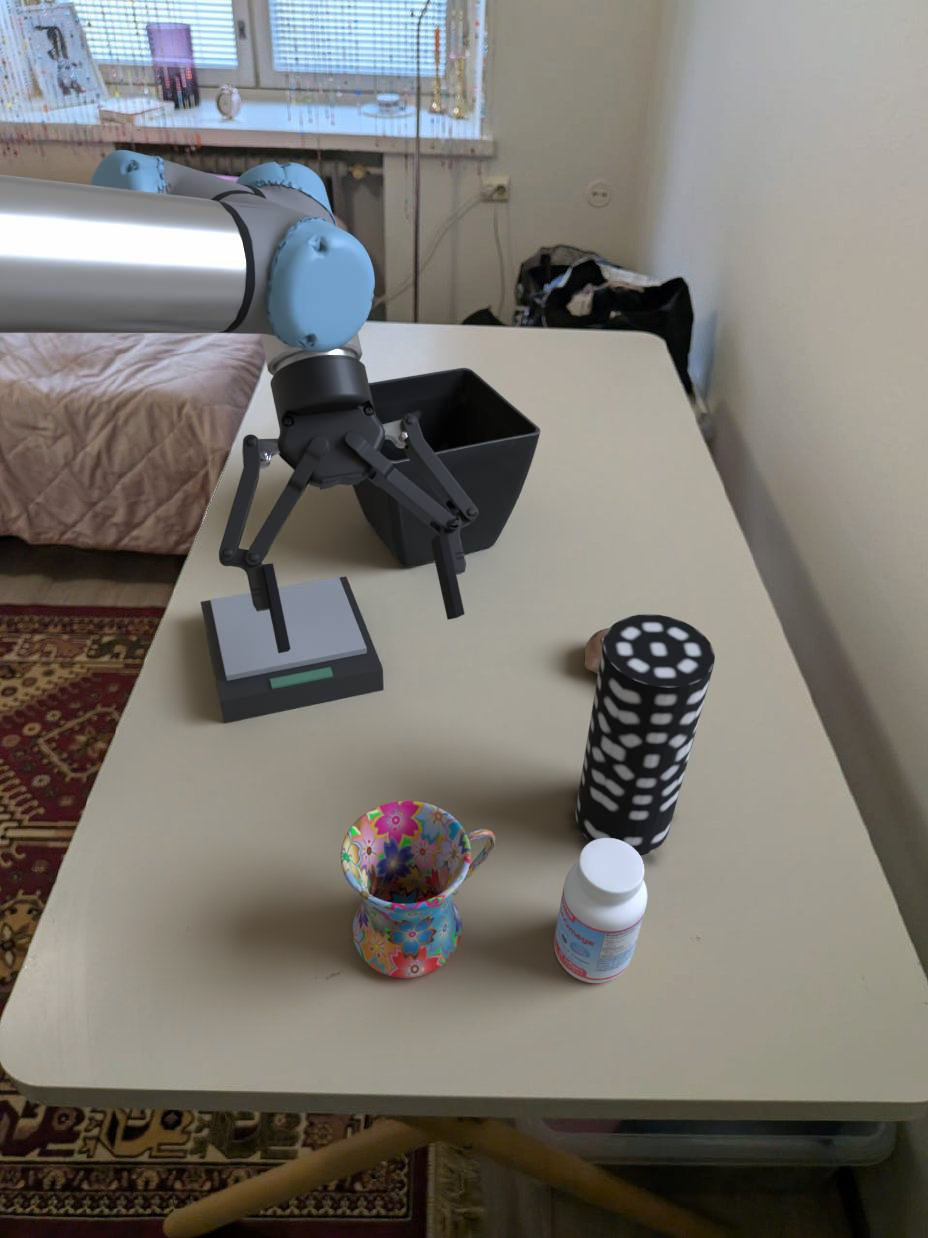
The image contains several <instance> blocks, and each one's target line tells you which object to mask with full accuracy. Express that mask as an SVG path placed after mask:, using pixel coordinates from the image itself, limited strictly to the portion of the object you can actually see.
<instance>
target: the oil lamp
mask: <svg viewBox="0 0 928 1238" xmlns="http://www.w3.org/2000/svg"><path fill="white" fill-rule="evenodd" d="M609 628H610V627H607V628H603V629H600V630H598V631H596V632H595V633H593V634H592V636H591V637H590V638H589V639H588V640H587V642H586V644H585V646H584V657H585V658H584V659H585V660H584V661H585V663H584V667H585V668H586V669H587V670H588V671H591V672H593V673H595V674H597V675H598V671H599V665H600V659H601V652H602V646H603V641H604V637H605V634H606V633H607V631H608V629H609Z"/></svg>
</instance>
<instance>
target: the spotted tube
mask: <svg viewBox="0 0 928 1238" xmlns="http://www.w3.org/2000/svg"><path fill="white" fill-rule="evenodd" d="M608 628H609V629H608V631H607V633H606V634H605V637H604V641H603V646H602V652H601V659H600V665H599V671H598V674H597V677H596V682H595V683H596V684H595V688H594V689H595V690H594V696H593V701H592V706H591V707H592V708H591V715H590V718H589V719H590V720H589V725H588V732H587V738H586V744H585V750H584V755H583V757H584V758H583V763H582V769H581V775H580V781H579V788H578V791H577V799H576V805H575V820H576V824H577V826H578V828H579V830H580V833H581V834H582V835H583V836H584V837H585V839H586V840H587V841H588V842H589V843H590V842H591V841H594V840H596V839H600V838H614V839H618V840H621V841H623V842H625V843H627V844H629V845H630V846H632V847H633V848H634V849H635V850H636V851H637V852H638V854H639V855H640V856H643V855H648V854H649V853H652V852H654V851H656V850H657V849H658V848H660V846H662V845H663V843H664V842H665V841H666V840H667V837H668V835H669V832H670V830H671V829H670V828H671V825H672V821H673V818H674V813H675V810H676V806H677V803H678V799H679V795H680V792H681V789H682V784H683V781H684V778H685V773H686V769H687V766H688V762H689V758H690V755H691V752H692V748H693V744H694V740H695V737H696V734H697V729H698V726H699V721H700V718H701V714H702V711H703V706H704V703H705V700H706V695H707V692H708V688H709V685H710V680H711V677H712V673H713V670H714V666H715V660H716V655H715V649H714V648H713V646H712V643H711V641H709V639H708V638H707V637H706V635H704V634H703V633H702V632H701V631H700V630H699V629H697V628H695V627H694V626H693V625H691V624H689V623H687V622H685V621H683V620H680V619H677V618H674V617H672V616H669V615H668V616H667V615H663V614H652V613H651V614H650V613H646V614H645V613H643V614H636V615H635V614H634V615H631V616H627V617H624V618H621V619H620V620H618V621H616V622H615V623H614V624H612V625H611V626H610V627H608Z"/></svg>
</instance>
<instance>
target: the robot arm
mask: <svg viewBox="0 0 928 1238" xmlns="http://www.w3.org/2000/svg"><path fill="white" fill-rule="evenodd" d="M326 190H327V189H326V187H325V184H324V182H323V181H322V179H321V177H320V176H319V175H318V174H317V173H316V172H315V171H314V170H312V169H311V168H309V167H307V166H306V165H303V164H300V163H296V162H293V161H289V162H286V163H283V164H279V163H277V162H276V161H271V162H265V163H262V164H258V165H256V166H253V167H251V168H249V169H247V170H246V171H245V172H243V173H242V174H241V175H240V176H239V177H238V178H237V179H236V181H235V182H234V181H233V180H232V181H231V180H229V179H225V178H223V177H220V176H216V175H213V174H211V173H207V172H205V171H201V170H198V169H195V168H192V167H189V166H186V165H183V164H180V163H177V162H173V161H170V160H167V159H164V158H162V157H161V156H159V155H157V154H154V155H147V154H144V153H140V152H135V151H131V150H127V149H117V150H115V151H112V152H109V153H108V154H107V155H106V156H104V157H103V158H102V160H100V161H99V164H98V165H97V166H96V168H95V170H94V173H93V174H92V177H91V181H90V183H89V184H84V183H75V182H67V181H61V180H60V181H59V180H49V179H44V178H43V179H41V178H34V177H25V176H16V175H8V174H0V334H238V335H239V334H242V335H260V338H261V343H262V347H263V353H264V359H265V363H266V368H267V371H268V373H269V374H270V375H272V378H271V380H270V382H269V383H270V388H271V394H272V398H273V403H274V408H275V413H276V418H277V423H278V427H279V428H278V429H279V435H278V438H258V437H257V435H255V434H251V433H249V434H246V435H245V436H244V438H243V439H242V448H241V449H242V450H241V453H242V465H243V467H242V471H241V475H240V479H239V482H238V485H237V488H236V492H235V495H234V499H233V502H232V505H231V508H230V512H229V516H228V518H227V522H226V525H225V529H224V532H223V536H222V539H221V543H220V546H219V549H218V561H219V563H220V564H221V565H222V566H224V567H235V568H239V569H242V570H243V572H245V574H246V576H247V582H248V586H249V591H250V592H249V593H251V597H252V602H253V606H254V607H255V609H256V610H257V612H258V611H264V610H270V615H271V620H272V625H273V630H274V635H275V640H276V645H277V649H278V653H283V652H288V651H289V650H290V644H289V639H288V634H287V629H286V624H285V619H284V614H283V610H282V605H281V600H280V595H279V590H278V588H279V586H278V581H277V576H276V572H275V566H274V562H270V563H265V564H263V562H264V560H265V558H266V557H267V555H268V553H269V552H270V550H271V548H272V546H273V545H274V542H275V541H276V539H278V536H279V534H280V533H281V531H282V530H283V527H284V526H285V524H286V522H287V521H288V519H289V517H290V516H291V513H292V512H293V511H294V509H295V507H296V506H297V503H298V502H299V500H300V499H301V497H302V496H303V495H304V493H305V490H306V489H307V487H308V486H309V485H310V486H311V487H314V488H317V489H319V490H320V491H322V490H327V489H331V488H334V487H336V486H338V485H340V486H352V485H355V484H359V482H360V481H362V480H364V479H365V478H367V479H369V480H370V481H371V482H372V483H373V484H375V485H376V486H378V487H381V488H382V489H384V490H385V491H386V492H387V493H389V494H390V495H391V496H392V497H393V498H395V499H396V500H397V501H398V502H400V503H401V504H402V505H403V506H404V507H406V508H407V509H408V510H409V511H411V512H412V513H413V514H414V515H415V516H417V517H418V518H419V519H420V520H422V521H423V522H424V523H425V524H426V525H428V526H429V527H430V528H431V529H433V530H434V531H435V532H436V533H437V534H439V535H437V536H436V537H435V538H434V539H433V540H432V541H431V545H432V550H433V555H434V559H435V561H434V563H435V568H436V573H437V578H438V582H439V587H440V591H441V595H442V597H441V598H442V601H443V605H444V611H445V614H446V620H448V621H449V620H454V619H457V618H460V617H462V616H464V615H465V614H466V613H465V608H464V603H463V600H462V596H461V591H460V585H459V582H458V577H457V575H462V574H463V573H465V572H466V567H467V563H466V558H465V554H464V553H463V548H462V543H461V539H460V530H461V528H463V527H465V526H467V525H469V524H470V523H471V522H472V521H473V520H475V519H476V518H477V517H478V514H479V512H478V509H477V507H476V506H475V505H474V503H473V502H472V501H471V499H470V498H469V497H468V496H467V494H466V493H465V492H464V490H463V489H462V488H461V486H460V485H459V484H458V483H457V481H456V480H455V479H454V477H453V476H452V475H451V473H450V472H449V471H448V469H447V468H446V467H445V466H444V464H443V463H442V462H441V460H440V459H439V458H438V456H437V455H436V454H435V452H434V451H433V450H432V449H431V447H430V446H429V445H428V443H427V442H426V441H425V439H424V437H423V434H422V431H421V429H420V426H419V423H418V420H417V417H416V416H415V415H414V414H411V413H407V414H405V415H404V417H403V418H402V419H401V420H398V421H394V422H390V423H386V424H382V423H381V422H380V421H379V420H378V418H377V416H376V414H375V411H374V406H373V401H372V396H371V392H370V387H369V383H370V382H369V378H368V374H367V368H366V366H365V364H364V363H363V362H362V361H361V359H362V356H363V350H362V346H361V342H360V337H359V332H360V331H361V329H362V328H363V326H364V325H365V323H366V321H367V320H368V317H369V314H370V312H371V310H372V304H373V299H374V297H375V294H374V291H375V288H376V287H375V285H376V280H375V272H374V271H375V270H374V267H373V264H372V260H371V258H370V257H371V256H370V255H369V253H368V252H367V249H366V248H365V247H364V245H363V244H362V243H361V241H359V240H358V239H357V238H356V237H355V236H354V235H352V234H351V233H349V232H347V231H345V230H344V229H342V228H340V227H338V224H337V220H336V217H335V216H334V214H333V211H332V207H331V204H330V200H329V197H328V194H327V191H326ZM385 439H389V440H391V441H392V442H393V443H394V445H395V446H396V447H397V448H401V449H402V448H403V449H404V451H405V453H406V455H407V457H408V458H409V460H410V461H411V462H412V464H413V465H414V466H415V468H416V469H417V470H418V471H419V473H420V474H421V475H422V477H423V478H424V479H425V481H426V482H427V483H428V484H429V486H430V487H431V488H432V490H433V491H434V492H435V494H436V495H437V496H438V497H439V499H440V500H441V501H442V503H443V504H444V505H445V507H446V508H447V509H448V510H449V512H450V513H451V514H450V513H449V512H448V511H447V510H446V509H444V508H443V507H442V506H441V505H439V504H438V503H437V502H436V501H435V500H433V499H432V498H431V497H430V496H429V495H427V494H426V493H425V492H424V491H422V490H421V489H420V488H419V487H418V486H416V485H415V484H414V483H413V482H412V481H410V480H409V479H408V478H407V477H405V476H404V475H403V474H402V473H401V472H399V471H398V470H397V469H396V468H395V467H394V465H393V464H392V462H390V461H389V460H388V459H387V458H386V457H384V456H383V455H382V454H381V453H380V452H379V451H380V449H381V447H382V444H383V442H384V440H385ZM277 455H278V456H279V457H280V459H282V460H283V461H284V462H285V463H286V464H287V465H288V466H289V467H290V468H291V469H292V470H293V472H292V473H291V476H290V477H289V478H288V481H287V483H286V485H285V487H284V488H283V490H282V492H281V493H280V495H279V497H278V498H277V500H276V502H275V504H274V505H273V507H272V509H271V511H270V512H269V514H268V515H267V517H266V519H265V520H264V523H263V524H262V526H261V527H260V529H259V531H258V533H257V534H256V536H255V538H254V540H253V541H252V543H251V544H250V546H249V547H248V549H246V548H241V547H240V545H241V542H242V539H243V535H244V531H245V528H246V524H247V521H248V518H249V515H250V514H249V513H250V511H251V508H252V504H253V501H254V497H255V493H256V490H257V487H258V483H259V479H260V473H261V469H266V468H268V467H269V466H270V464H271V460H272V458H273V457H274V456H277Z"/></svg>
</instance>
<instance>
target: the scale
mask: <svg viewBox="0 0 928 1238" xmlns="http://www.w3.org/2000/svg"><path fill="white" fill-rule="evenodd" d="M347 577H348V576H346V575H345V576H340V577H339V576H338V577H332V578H331V577H330V578H326V579H321V580H314V581H309V582H303V583H297V584H292V585H286V586H280V587H278V590H279V595H280V600H281V605H282V610H283V614H284V619H285V624H286V629H287V634H288V639H289V644H290V650H289V651H288V652H283V653H278V649H277V645H276V640H275V635H274V630H273V625H272V620H271V615H270V610H264V611H258V612H257V610H256V609H255V607H254V606H253V602H252V597H251V592H246V593H241V594H240V593H239V594H235V595H229V596H228V595H227V596H223V597H216V598H211V599H207V600H201V601H200V606H201V612H202V617H203V622H204V627H205V628H204V629H205V632H206V633H205V634H206V637H207V642H208V649H209V653H210V659H211V664H212V669H213V674H214V680H215V684H216V689H217V695H218V700H219V705H220V711H221V715H222V720H223V723H224V724H228V723H232V722H237V721H242V720H246V719H252V718H256V717H260V716H261V717H262V716H265V715H271V714H276V713H281V712H284V711H289V710H293V709H299V708H303V707H304V708H305V707H309V706H313V705H319V704H323V703H327V702H332V701H337V700H341V699H346V698H351V697H356V696H360V695H365V694H370V693H375V692H379V691H384V688H385V687H384V686H385V685H384V668H383V665H382V663H381V660H380V658H379V655H378V652H377V650H376V647H375V645H374V642H373V640H372V638H371V634H370V632H369V630H368V628H367V625H366V622H365V620H364V617H363V614H362V612H361V609H360V608H359V605H358V602H357V600H356V597H355V595H354V592H353V589H352V587H351V584H350V582H349V579H348V578H347Z"/></svg>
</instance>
